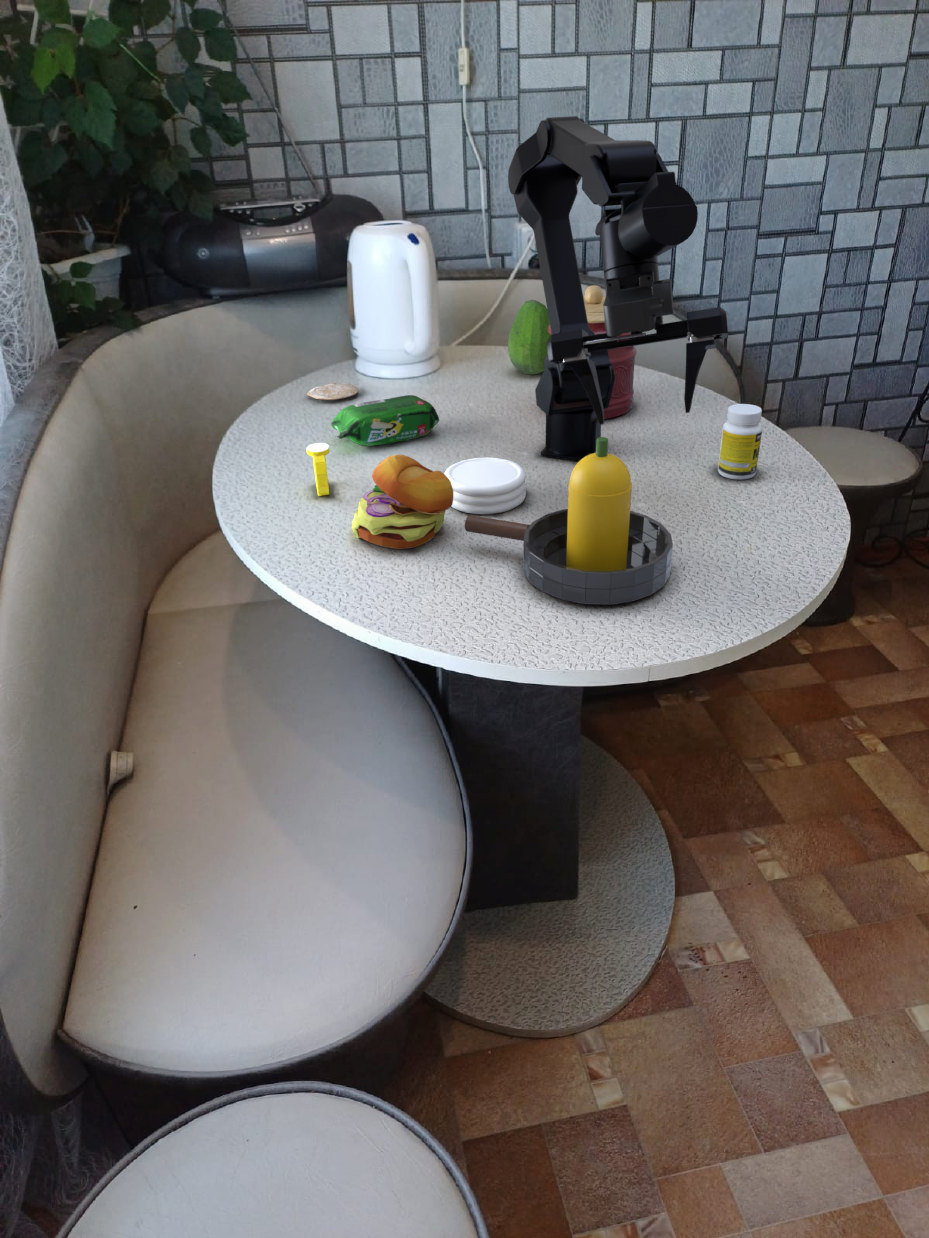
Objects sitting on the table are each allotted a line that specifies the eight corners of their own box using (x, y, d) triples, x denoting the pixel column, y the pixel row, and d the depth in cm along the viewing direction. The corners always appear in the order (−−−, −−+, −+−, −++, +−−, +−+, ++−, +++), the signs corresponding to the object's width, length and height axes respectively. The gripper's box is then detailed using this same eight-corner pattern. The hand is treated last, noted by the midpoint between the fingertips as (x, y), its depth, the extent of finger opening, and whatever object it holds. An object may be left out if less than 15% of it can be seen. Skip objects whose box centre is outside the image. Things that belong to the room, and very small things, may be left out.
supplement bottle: (756, 481, 116) (766, 416, 111) (717, 479, 117) (725, 414, 112) (754, 466, 120) (763, 403, 115) (716, 464, 121) (724, 401, 116)
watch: (310, 483, 120) (304, 439, 116) (332, 480, 120) (327, 436, 117) (313, 502, 115) (307, 456, 111) (335, 499, 115) (330, 454, 112)
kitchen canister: (531, 413, 139) (531, 291, 130) (569, 388, 149) (573, 272, 139) (611, 427, 133) (618, 300, 124) (646, 400, 143) (655, 280, 133)
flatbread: (350, 384, 153) (349, 378, 153) (365, 397, 148) (364, 391, 147) (302, 392, 151) (301, 386, 150) (315, 406, 145) (314, 399, 144)
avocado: (542, 383, 151) (543, 307, 145) (500, 377, 155) (499, 302, 149) (563, 369, 157) (565, 296, 151) (522, 364, 161) (522, 292, 154)
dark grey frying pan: (502, 592, 94) (501, 557, 92) (551, 530, 106) (552, 498, 104) (648, 620, 89) (651, 584, 87) (683, 552, 101) (686, 518, 99)
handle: (464, 534, 101) (464, 519, 100) (471, 527, 102) (470, 512, 101) (525, 544, 98) (525, 529, 97) (531, 537, 100) (531, 521, 99)
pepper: (553, 567, 98) (556, 439, 90) (593, 548, 101) (599, 423, 94) (598, 588, 94) (605, 456, 86) (638, 567, 97) (648, 438, 90)
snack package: (326, 441, 132) (321, 405, 130) (427, 421, 138) (425, 386, 135) (342, 458, 127) (338, 421, 124) (447, 436, 132) (445, 401, 130)
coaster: (514, 520, 109) (514, 492, 107) (433, 511, 111) (431, 484, 109) (534, 486, 117) (534, 459, 115) (458, 478, 119) (457, 453, 118)
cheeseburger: (350, 516, 110) (364, 437, 106) (438, 530, 112) (456, 453, 107) (348, 555, 102) (363, 470, 97) (444, 569, 104) (463, 487, 99)
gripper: (529, 273, 94) (546, 430, 97) (721, 238, 89) (733, 405, 91) (549, 288, 105) (564, 429, 107) (721, 258, 99) (733, 407, 102)
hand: (644, 418), depth 102 cm, fingers open, 9 cm apart
